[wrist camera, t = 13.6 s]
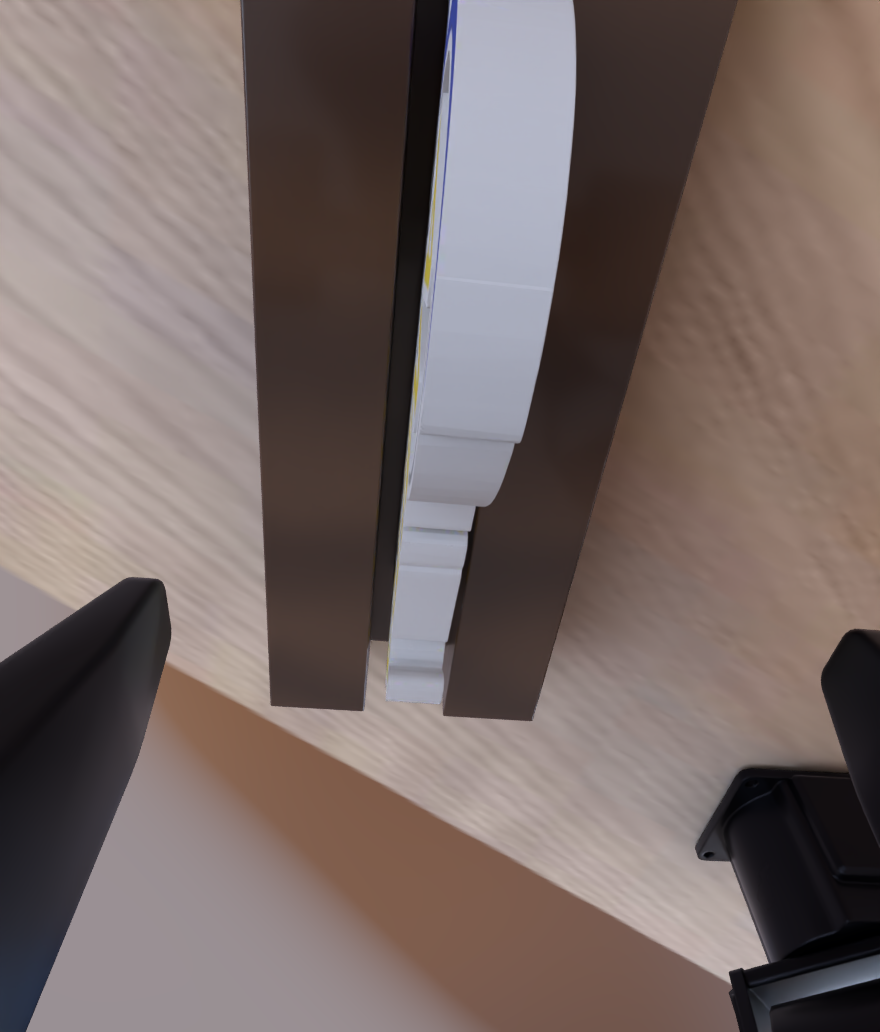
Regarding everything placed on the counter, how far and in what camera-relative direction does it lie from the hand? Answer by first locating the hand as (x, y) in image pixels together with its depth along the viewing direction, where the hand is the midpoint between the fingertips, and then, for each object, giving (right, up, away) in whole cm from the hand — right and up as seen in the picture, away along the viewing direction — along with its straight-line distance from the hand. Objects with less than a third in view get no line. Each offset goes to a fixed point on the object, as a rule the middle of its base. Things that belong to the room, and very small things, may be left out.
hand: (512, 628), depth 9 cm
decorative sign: (-1, +7, +8) cm, 10 cm away
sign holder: (-1, +7, +9) cm, 11 cm away
